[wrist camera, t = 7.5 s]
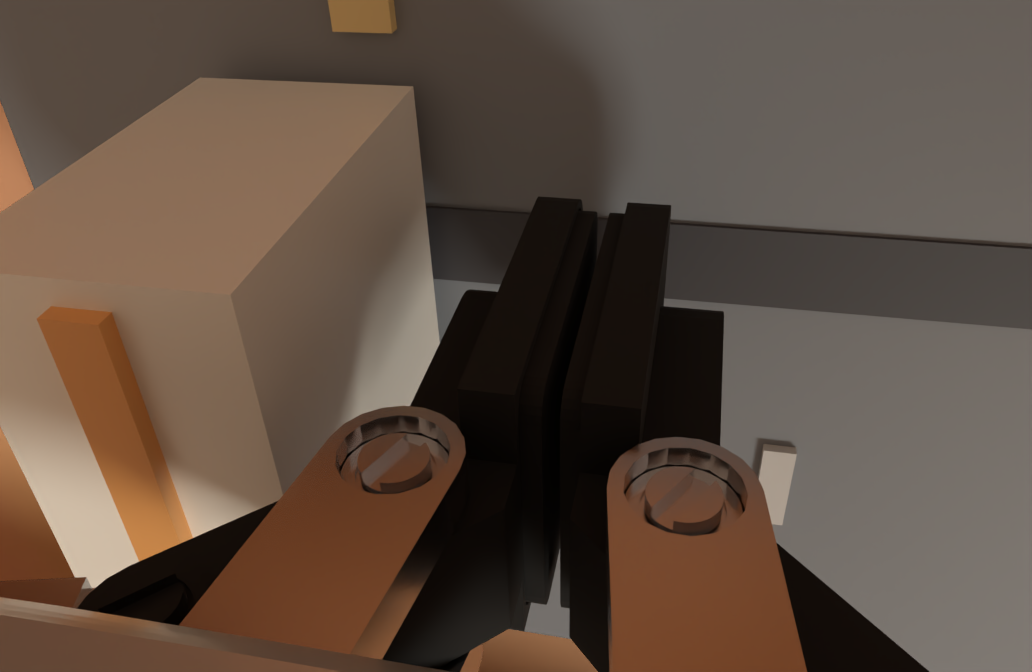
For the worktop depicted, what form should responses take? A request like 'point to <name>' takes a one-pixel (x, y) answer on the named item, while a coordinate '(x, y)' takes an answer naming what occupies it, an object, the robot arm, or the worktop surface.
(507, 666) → the worktop surface
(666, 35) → the console
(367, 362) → the fader knob
